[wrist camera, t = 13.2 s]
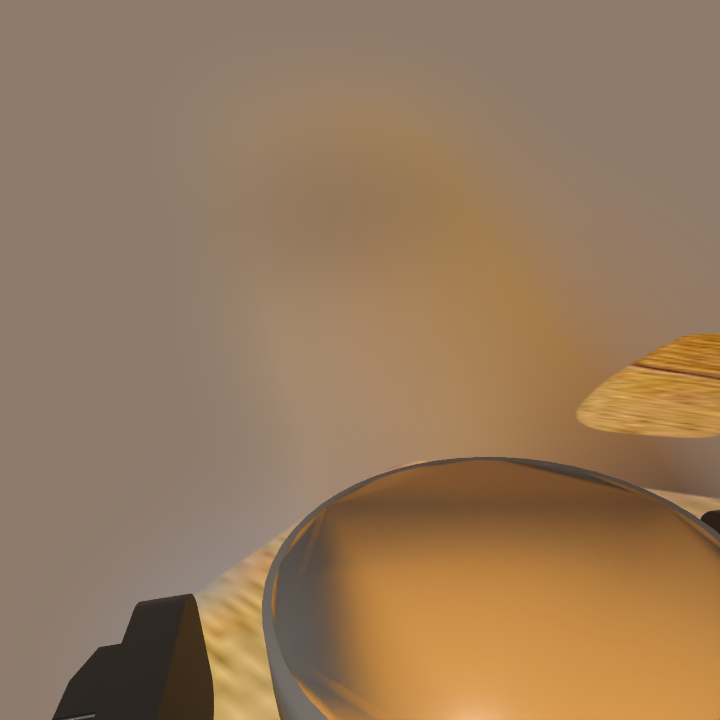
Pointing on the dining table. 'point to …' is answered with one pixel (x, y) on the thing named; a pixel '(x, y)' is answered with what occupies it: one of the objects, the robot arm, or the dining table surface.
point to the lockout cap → (495, 600)
